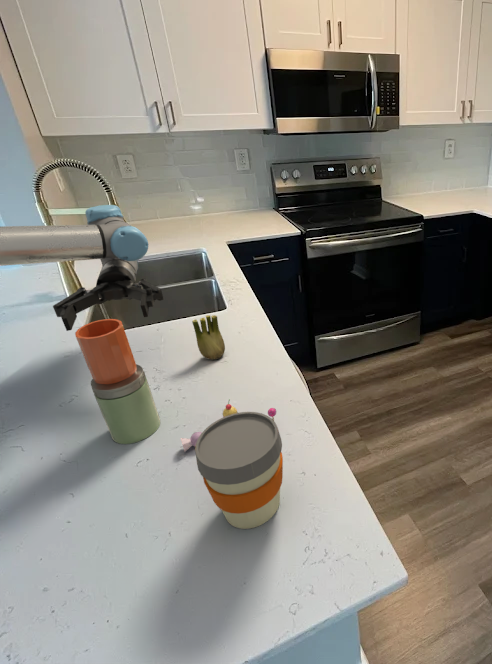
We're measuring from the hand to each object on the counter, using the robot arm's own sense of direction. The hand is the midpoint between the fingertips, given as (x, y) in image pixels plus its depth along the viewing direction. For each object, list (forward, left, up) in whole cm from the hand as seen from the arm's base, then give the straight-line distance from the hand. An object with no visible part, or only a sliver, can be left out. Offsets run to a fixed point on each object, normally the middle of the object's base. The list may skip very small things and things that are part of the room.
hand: (106, 317), depth 84 cm
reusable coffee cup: (+43, -5, -22) cm, 48 cm away
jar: (+8, -5, -22) cm, 24 cm away
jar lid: (+8, -5, -9) cm, 13 cm away
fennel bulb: (0, +22, -22) cm, 31 cm away
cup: (+7, -4, -8) cm, 12 cm away
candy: (+26, +5, -22) cm, 34 cm away
